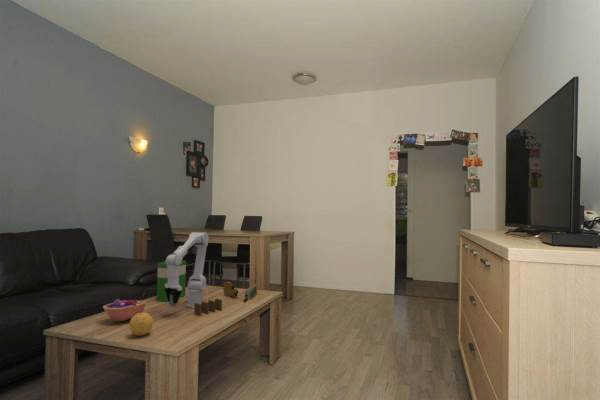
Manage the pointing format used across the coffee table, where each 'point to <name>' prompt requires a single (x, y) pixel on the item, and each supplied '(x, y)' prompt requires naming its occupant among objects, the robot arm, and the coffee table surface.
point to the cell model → (124, 309)
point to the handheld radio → (250, 292)
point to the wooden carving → (229, 289)
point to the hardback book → (163, 279)
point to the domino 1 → (171, 301)
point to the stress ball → (141, 324)
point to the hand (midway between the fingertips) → (172, 302)
